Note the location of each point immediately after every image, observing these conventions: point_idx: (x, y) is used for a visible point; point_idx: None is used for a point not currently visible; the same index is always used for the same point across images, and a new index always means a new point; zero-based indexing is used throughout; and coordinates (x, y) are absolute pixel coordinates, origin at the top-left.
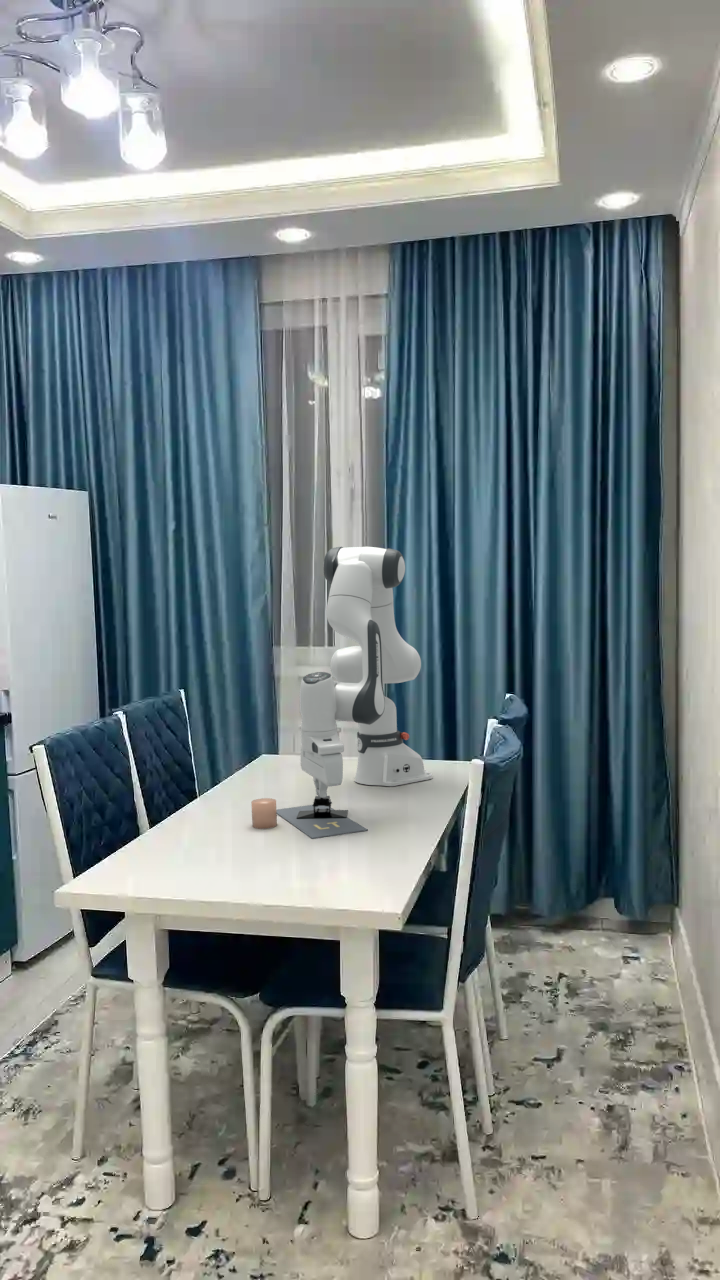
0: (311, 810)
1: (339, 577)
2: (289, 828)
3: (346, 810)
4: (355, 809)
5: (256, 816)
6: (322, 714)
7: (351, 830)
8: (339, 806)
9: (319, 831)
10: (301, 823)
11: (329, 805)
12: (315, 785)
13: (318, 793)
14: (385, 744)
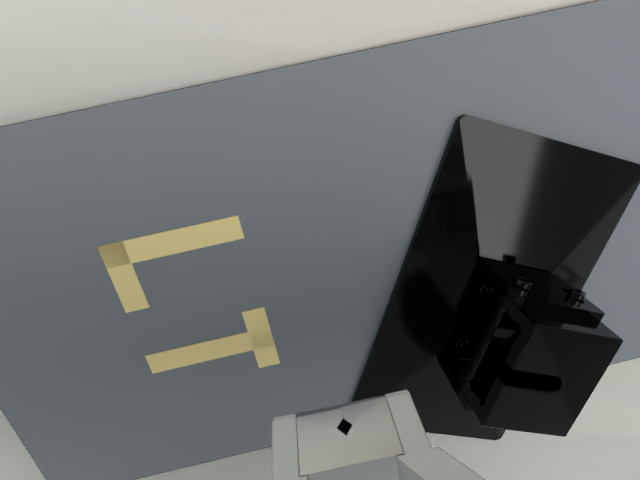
0: (566, 248)
1: None
2: (230, 13)
3: (487, 433)
4: (528, 462)
5: None
6: None
7: (42, 424)
8: (634, 398)
9: (41, 238)
10: (314, 134)
11: (456, 388)
12: (444, 477)
13: (329, 427)
14: None
